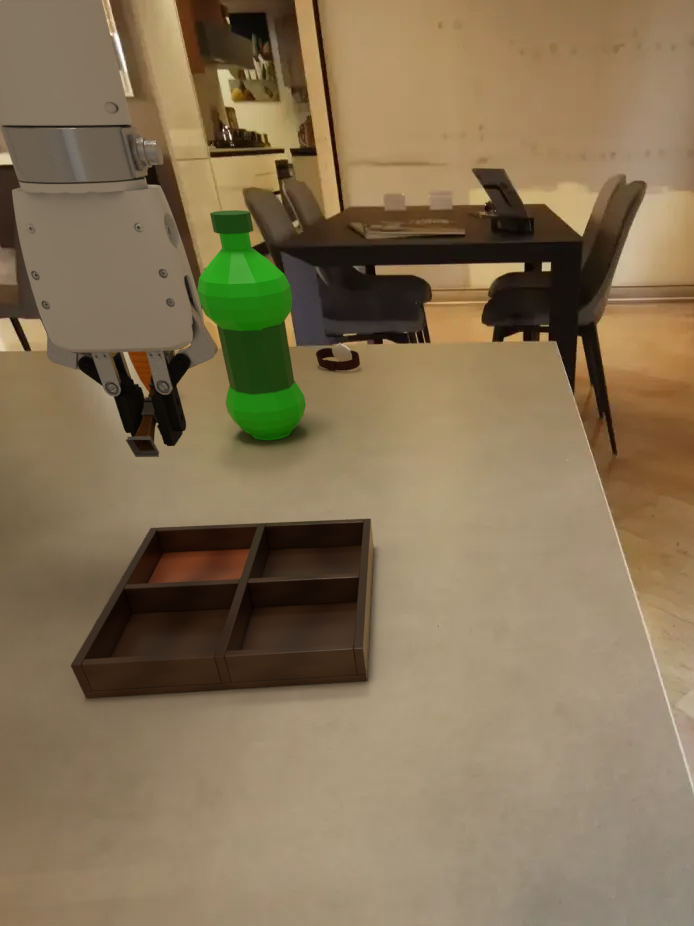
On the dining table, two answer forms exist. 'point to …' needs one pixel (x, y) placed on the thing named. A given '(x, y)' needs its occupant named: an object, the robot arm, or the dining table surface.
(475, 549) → the dining table surface
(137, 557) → the grid
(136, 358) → the carrot
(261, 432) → the plastic bottle
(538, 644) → the dining table surface
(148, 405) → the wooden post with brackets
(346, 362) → the watch
